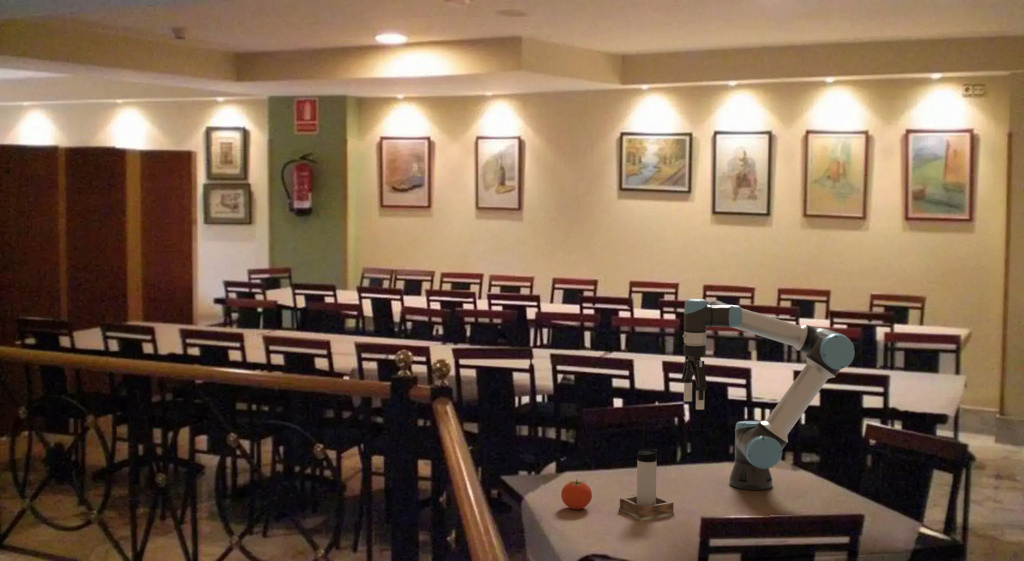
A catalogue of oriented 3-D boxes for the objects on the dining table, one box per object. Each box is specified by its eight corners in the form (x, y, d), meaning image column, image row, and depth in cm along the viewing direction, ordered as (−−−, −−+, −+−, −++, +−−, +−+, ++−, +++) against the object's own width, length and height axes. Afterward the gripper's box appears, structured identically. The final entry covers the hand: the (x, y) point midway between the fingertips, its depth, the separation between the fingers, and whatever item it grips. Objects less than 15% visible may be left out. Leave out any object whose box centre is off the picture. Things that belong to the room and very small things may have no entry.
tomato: (555, 506, 350) (556, 476, 349) (583, 502, 354) (583, 473, 353) (569, 514, 340) (569, 484, 340) (597, 511, 344) (597, 481, 344)
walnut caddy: (651, 504, 352) (651, 492, 352) (674, 515, 340) (674, 502, 340) (618, 509, 346) (618, 498, 346) (641, 520, 334) (641, 508, 334)
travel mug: (658, 512, 340) (660, 452, 339) (639, 513, 339) (640, 452, 338) (653, 506, 347) (654, 447, 345) (634, 507, 346) (635, 448, 344)
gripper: (673, 339, 370) (672, 398, 372) (695, 349, 346) (694, 412, 347) (694, 338, 371) (693, 397, 373) (717, 349, 347) (716, 412, 348)
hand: (693, 405), depth 360 cm, fingers open, 13 cm apart
